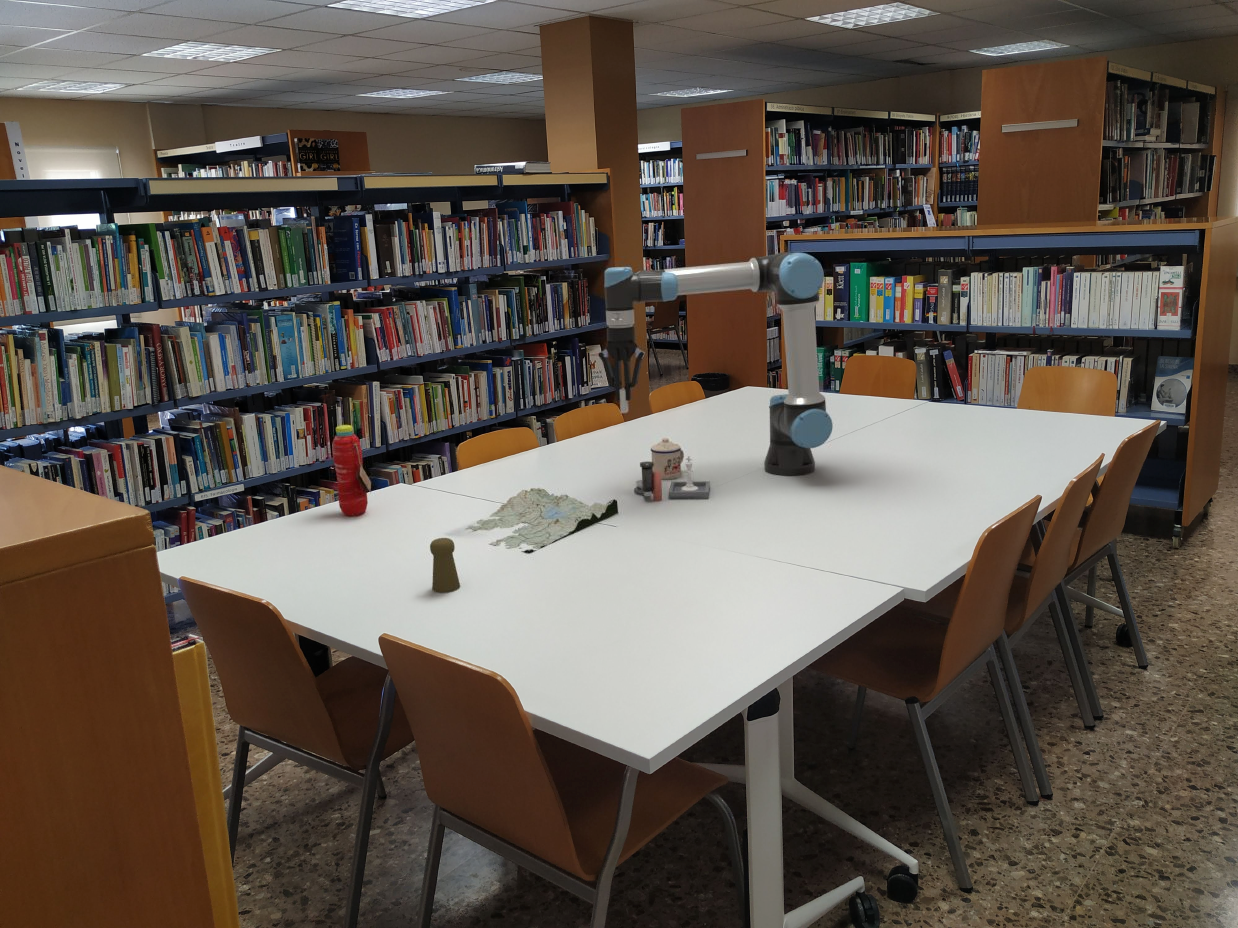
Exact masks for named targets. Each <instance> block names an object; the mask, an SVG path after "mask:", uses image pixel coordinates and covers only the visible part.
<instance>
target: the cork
mask: <svg viewBox="0 0 1238 928" xmlns="http://www.w3.org/2000/svg"><path fill="white" fill-rule="evenodd" d="M455 546H456V545H455V543H454V540H452V538H449V537H438V538H436V539H434V540H432V541H431V542H430V544H429V550H430V551H429V552H430V553H431V555H432V556H433V557H432V558H433V559H432V583H431V585H432V587H431V588H432V592H434V593H438V594H439V593H440V594H442V593H443V594H445V593H446V594H448V593H452V592H455V591H457V590H459V589H460V588H461V583H460V579H459V576H458V570H457V567H456V562H455V559H454V555H453V553H454V552H455Z"/></svg>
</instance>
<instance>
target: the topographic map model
mask: <svg viewBox="0 0 1238 928" xmlns="http://www.w3.org/2000/svg"><path fill="white" fill-rule="evenodd" d="M618 506H619V505H618V500H617V499H615V498H613V499H612V500H608V501H607V503H606V504H605V503H603V504H601V503H597V502H594V503H593V504H592V505H588V504H585V503H584V502H582V501H581V500H578V499H577V498H575V497H571V496H569V495H568V494H561V495H559V496H558V495H554V493H551V494H549V492H548V491H547V490H545V488H540V487H538V488H536V487H531V488H530V489H529V490H526V489H522V490H520V492H518V493H517V494H516V495H515V496H512V497H510V498H508V499H507V500H506V503H503V504H501V505H500V507H499V509H497V510H496V511H494V512H492V513H491V514H490V516H488V519H486V520H484V519H480V520H477V521H476V523H477V525H468V526H467V528H465V530H470V531H469V532H468V533H473V532H477V531H492V530H494V529H496V528H499V529H500V530H501V529H510V528H511V529H512V528H514V527H515V526H518V525H520V524H524V525H522V526H521V527H518V528H517V529H514V530H513V531H512V532H511V533H512V535H511V534H510V535H506V536H505V537H503V538H500V539H497V540H496V541H492V542H490V543H488V545H490V546H493V547H498V546H501V543H504V544H505V545H504V547H505V549H509V550H511V549H517V548H518V550H521V551H520V552H521V553H525V554H532V553H534V552H536V551H538V550H540V549H543V548H545V547H548V546H549V545H551V544H554V543H556V542H558V541H560V540H562V539H564V538H565V539H566V538H567V537H569V536H571V535H573V534H575V533H578V532H580V531H582V530H584V529H587V528H589V527H591V526H594V525H596V524H598V523H600V522H602V521H604V520H607V519H610V518H611V517H613V516H615V515H617V514H619V507H618ZM522 544H525V545H526V546H532V547H531V548H528V549H526V550H522V549H523V547H521V545H522Z"/></svg>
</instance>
